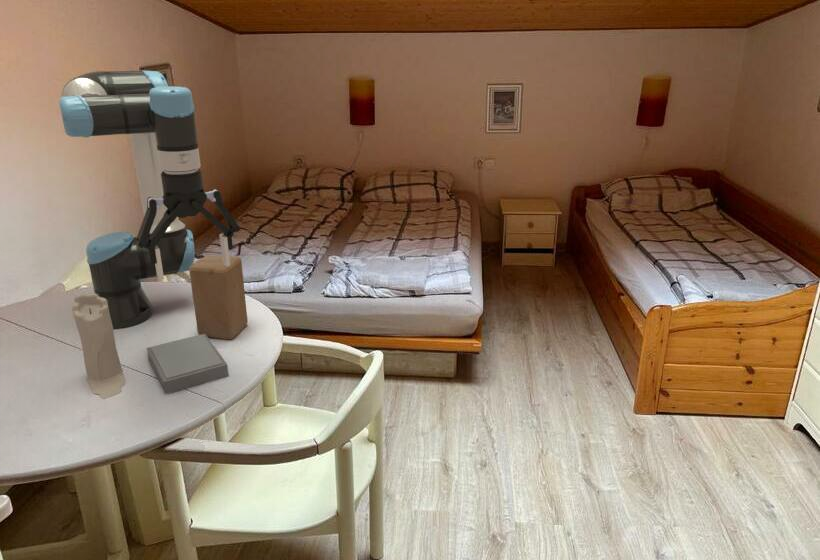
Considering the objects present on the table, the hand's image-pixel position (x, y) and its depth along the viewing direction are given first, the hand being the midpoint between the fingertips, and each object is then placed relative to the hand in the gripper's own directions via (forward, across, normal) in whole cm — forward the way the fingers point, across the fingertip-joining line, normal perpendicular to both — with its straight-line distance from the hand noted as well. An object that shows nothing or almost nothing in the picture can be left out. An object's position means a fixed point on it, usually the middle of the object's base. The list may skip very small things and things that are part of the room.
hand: (194, 270), depth 123 cm
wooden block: (+28, +11, +23) cm, 38 cm away
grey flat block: (+28, -2, +10) cm, 29 cm away
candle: (+28, -19, +13) cm, 36 cm away
